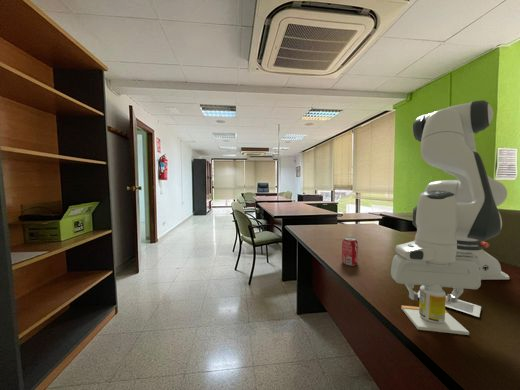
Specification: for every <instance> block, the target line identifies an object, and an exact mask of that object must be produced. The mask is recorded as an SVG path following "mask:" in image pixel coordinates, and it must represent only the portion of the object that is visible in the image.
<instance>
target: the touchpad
mask: <svg viewBox="0 0 520 390" xmlns="http://www.w3.org/2000/svg"><path fill="white" fill-rule="evenodd" d="M416 293H417V294H418V297H417V298H418V299H420V289H419V290H418V291H417V292H416ZM445 308H449V309H453V310H456V311H458V312H459V311H460V312H463V313H464V314H465V313H466V314H468V315H471V316H474V317H477V318H480V316H481V315H480V314H481V311H482V306H481V305H478V304H474V303H471V302H469V301H468V302H467V301H464V300H461V299H458V303H450V302H449V301H448V300H447V295H446V300H445Z"/></svg>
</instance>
